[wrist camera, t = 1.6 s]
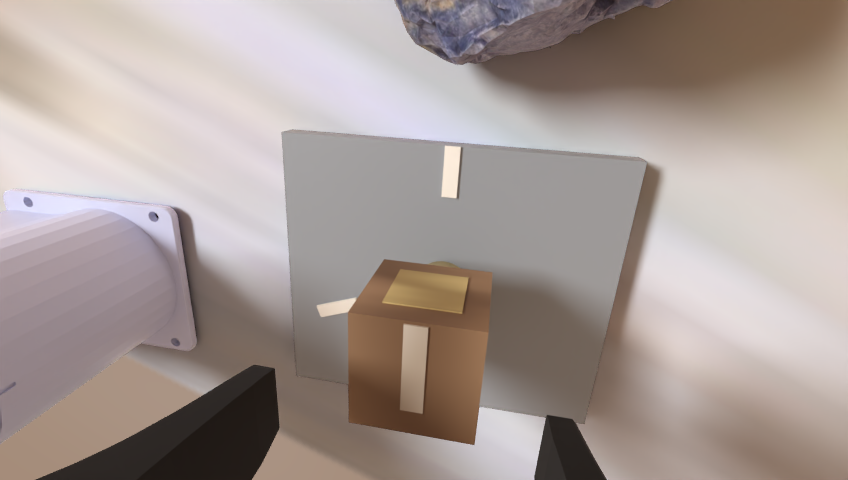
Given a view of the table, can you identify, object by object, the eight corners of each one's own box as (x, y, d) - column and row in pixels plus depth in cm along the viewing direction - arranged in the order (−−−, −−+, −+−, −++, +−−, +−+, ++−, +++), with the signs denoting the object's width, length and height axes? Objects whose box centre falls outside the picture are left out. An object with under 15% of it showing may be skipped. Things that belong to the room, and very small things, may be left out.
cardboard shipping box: (381, 349, 17) (347, 423, 14) (384, 257, 16) (347, 311, 12) (481, 365, 17) (474, 446, 13) (492, 271, 15) (488, 332, 12)
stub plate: (304, 363, 23) (276, 402, 20) (292, 129, 18) (254, 138, 16) (580, 408, 21) (592, 459, 18) (639, 157, 16) (666, 173, 14)
